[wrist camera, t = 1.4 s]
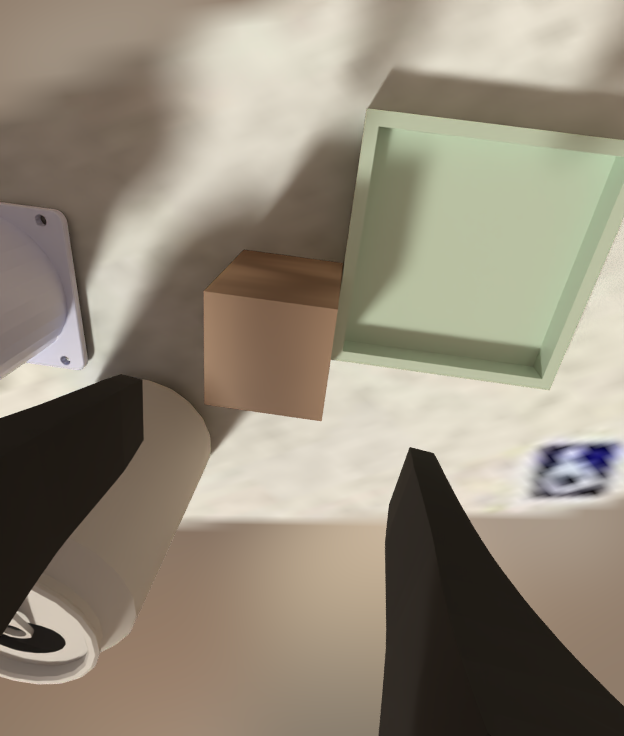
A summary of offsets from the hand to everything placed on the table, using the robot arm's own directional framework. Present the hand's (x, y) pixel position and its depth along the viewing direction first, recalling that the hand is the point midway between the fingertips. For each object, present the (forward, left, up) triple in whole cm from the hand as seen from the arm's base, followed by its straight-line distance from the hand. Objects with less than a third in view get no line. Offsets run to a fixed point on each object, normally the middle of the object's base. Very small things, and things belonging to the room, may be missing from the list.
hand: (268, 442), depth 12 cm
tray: (+6, +3, -11) cm, 13 cm away
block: (-1, 0, -11) cm, 11 cm away
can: (-8, -9, -11) cm, 16 cm away
